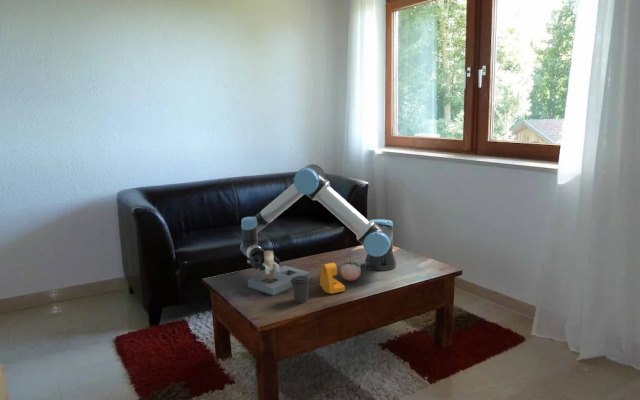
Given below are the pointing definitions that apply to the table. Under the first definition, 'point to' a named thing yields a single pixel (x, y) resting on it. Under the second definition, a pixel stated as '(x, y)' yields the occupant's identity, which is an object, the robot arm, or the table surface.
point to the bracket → (330, 279)
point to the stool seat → (277, 280)
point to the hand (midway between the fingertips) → (273, 269)
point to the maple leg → (270, 263)
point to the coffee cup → (300, 288)
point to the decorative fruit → (350, 270)
